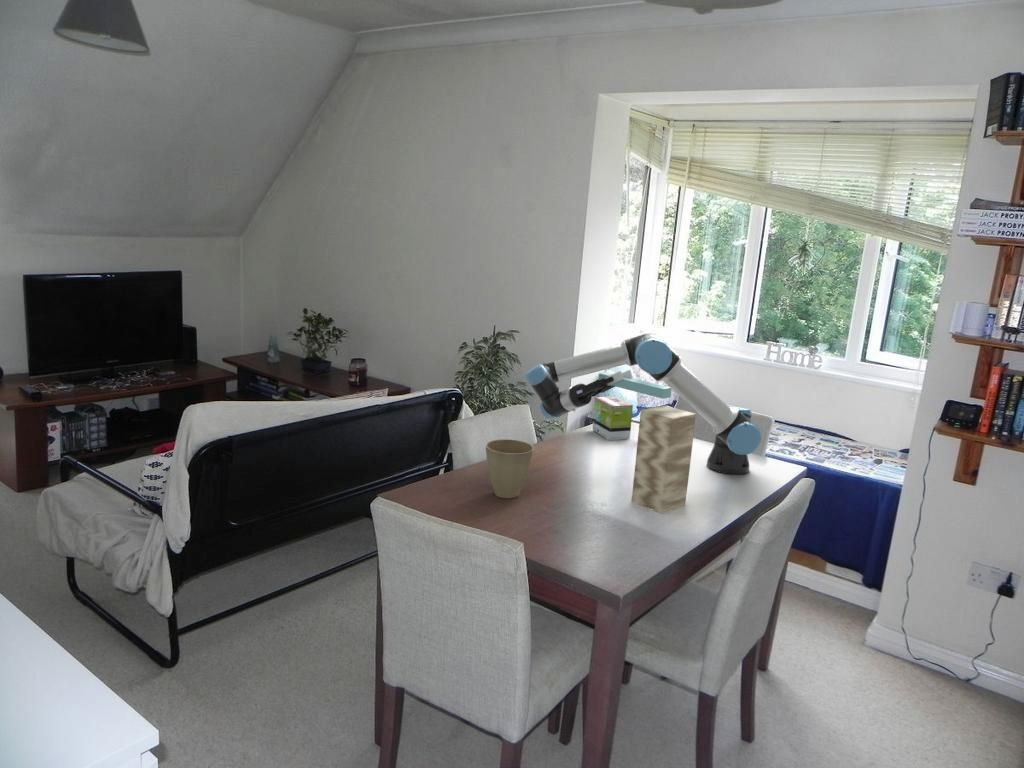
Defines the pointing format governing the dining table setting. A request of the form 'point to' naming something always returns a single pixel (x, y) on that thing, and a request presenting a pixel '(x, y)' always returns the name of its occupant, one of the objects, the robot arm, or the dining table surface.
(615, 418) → the tea box
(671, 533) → the dining table surface
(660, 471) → the wooden stand
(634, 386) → the teal block
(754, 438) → the robot arm
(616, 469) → the dining table surface
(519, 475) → the plant pot
